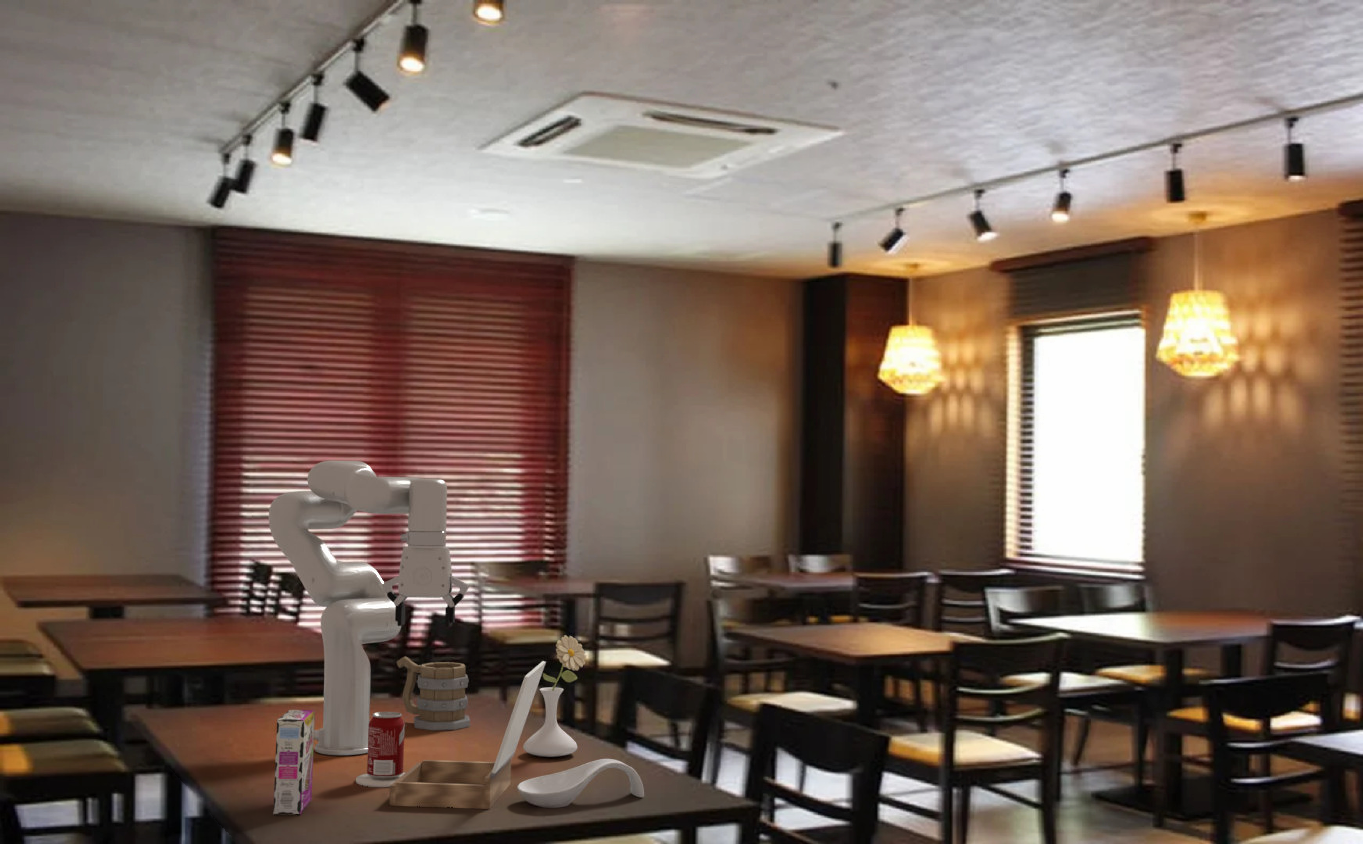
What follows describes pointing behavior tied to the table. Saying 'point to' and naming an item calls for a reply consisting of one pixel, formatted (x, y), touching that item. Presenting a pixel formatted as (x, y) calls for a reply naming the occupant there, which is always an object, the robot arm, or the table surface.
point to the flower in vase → (551, 735)
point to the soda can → (385, 746)
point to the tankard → (437, 695)
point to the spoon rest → (572, 783)
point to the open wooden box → (450, 785)
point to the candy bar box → (294, 761)
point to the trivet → (374, 781)
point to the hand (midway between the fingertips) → (424, 626)
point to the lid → (518, 718)
